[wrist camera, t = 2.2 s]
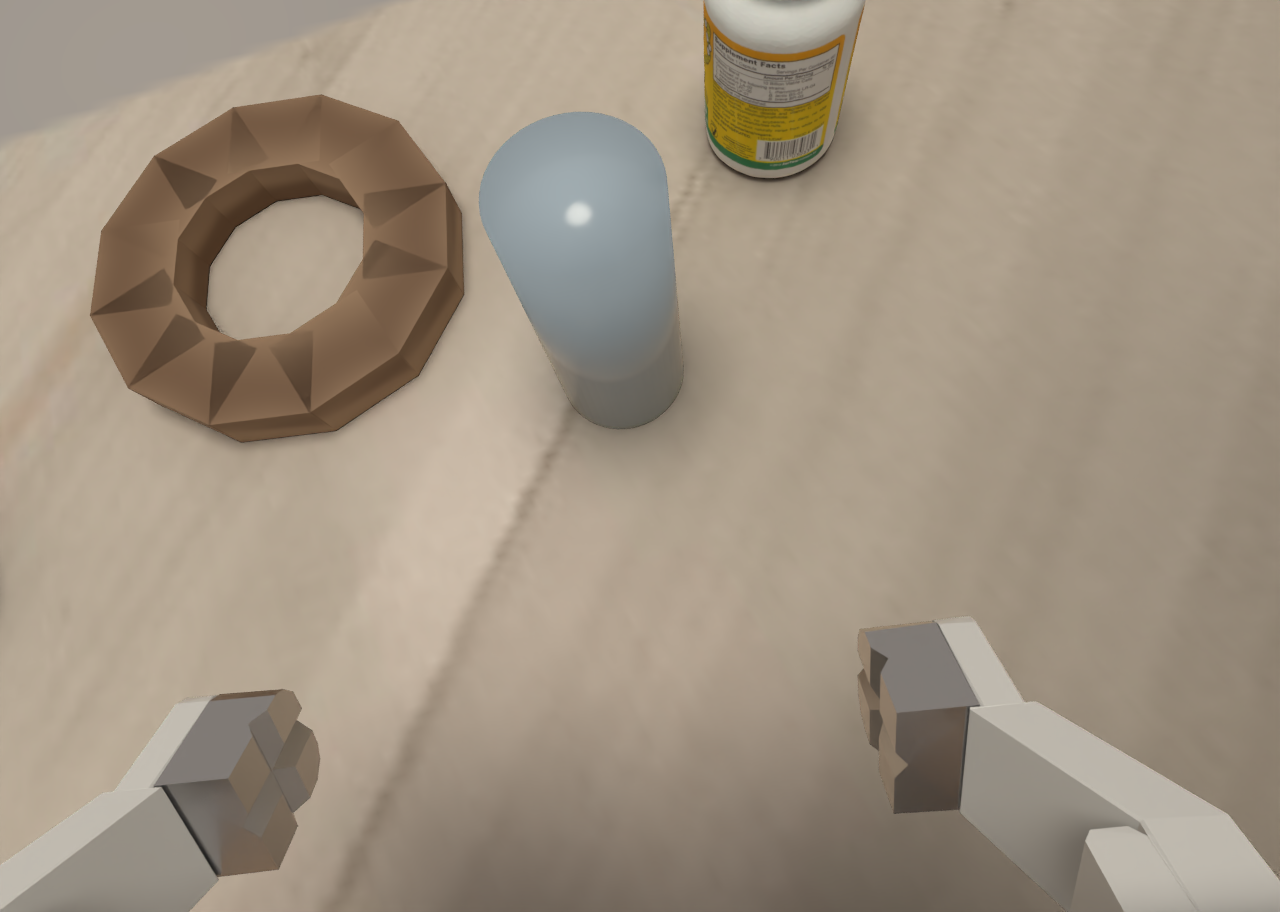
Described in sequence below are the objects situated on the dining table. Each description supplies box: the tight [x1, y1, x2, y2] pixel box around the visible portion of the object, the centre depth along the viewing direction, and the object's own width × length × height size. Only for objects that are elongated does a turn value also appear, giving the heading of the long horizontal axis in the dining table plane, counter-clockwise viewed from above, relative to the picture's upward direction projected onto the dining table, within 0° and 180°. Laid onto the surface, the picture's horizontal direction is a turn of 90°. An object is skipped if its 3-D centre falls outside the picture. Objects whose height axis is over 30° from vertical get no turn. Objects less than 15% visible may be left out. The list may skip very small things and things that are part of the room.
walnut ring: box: [90, 95, 464, 442], centre depth 31 cm, size 14×14×2 cm
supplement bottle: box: [704, 0, 865, 178], centre depth 27 cm, size 5×5×10 cm
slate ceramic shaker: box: [479, 112, 684, 429], centre depth 24 cm, size 5×5×11 cm
